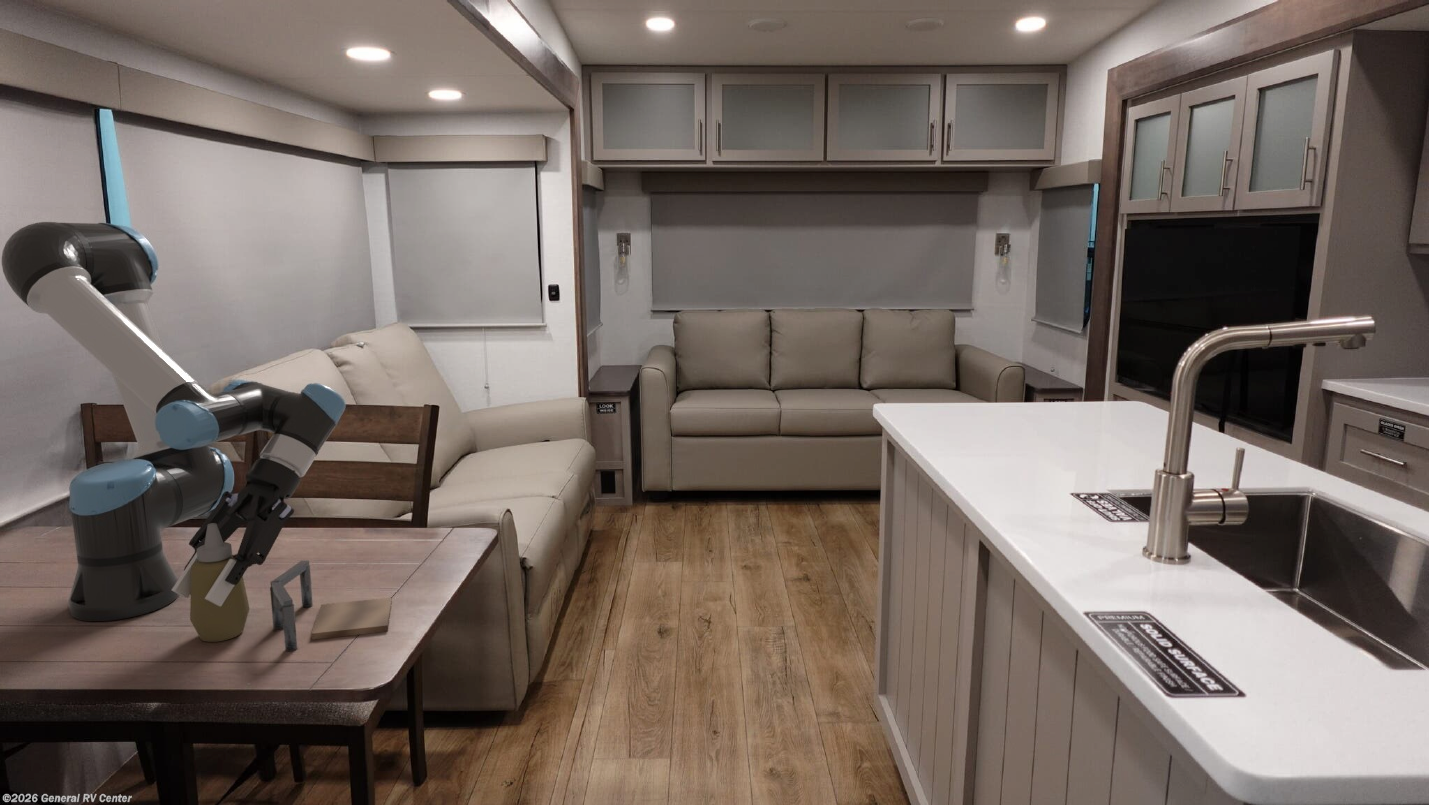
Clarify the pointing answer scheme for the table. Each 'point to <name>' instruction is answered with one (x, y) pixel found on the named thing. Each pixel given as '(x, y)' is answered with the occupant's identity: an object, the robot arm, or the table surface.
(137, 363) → the robot arm
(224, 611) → the squeeze bottle
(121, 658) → the table surface
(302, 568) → the gray angled arch frame
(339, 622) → the pad
